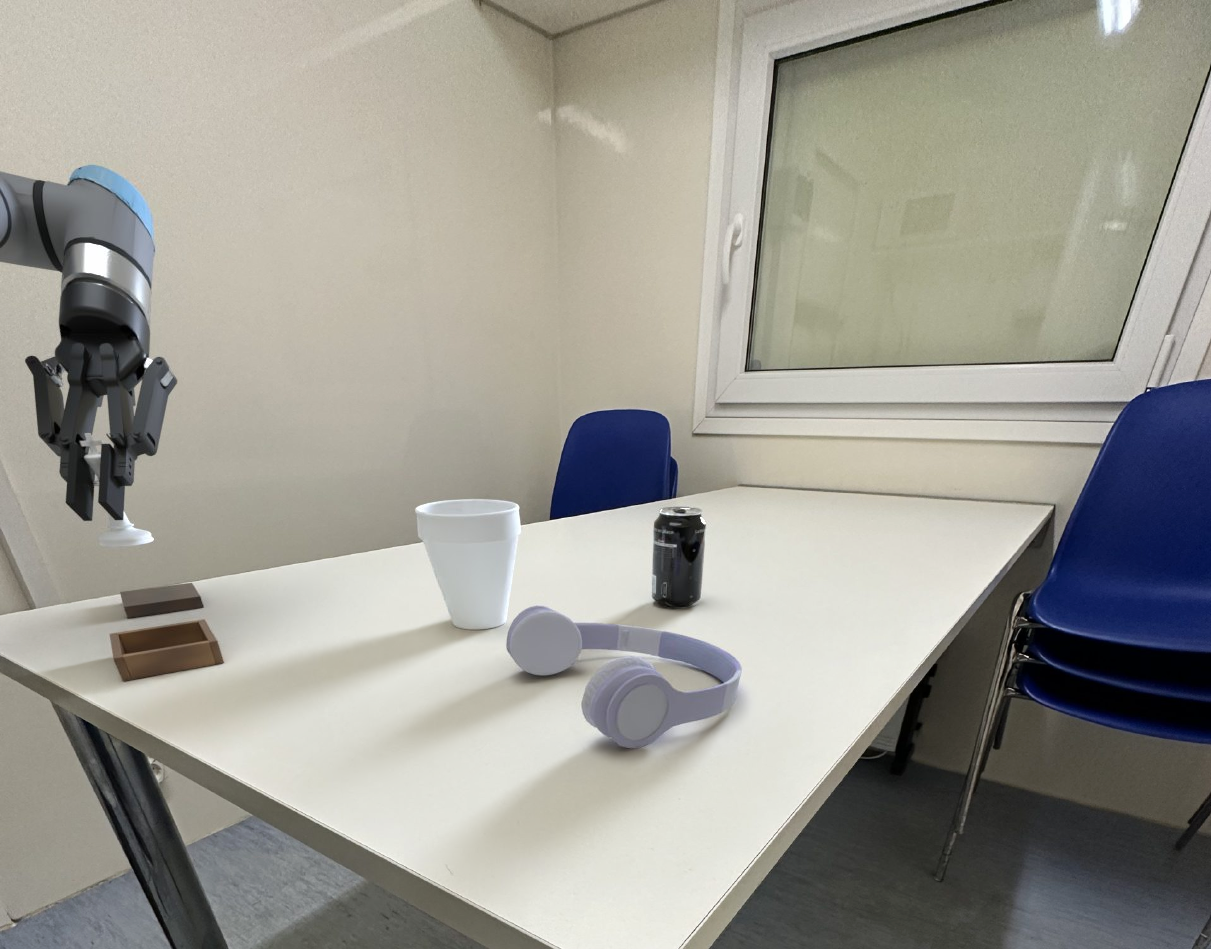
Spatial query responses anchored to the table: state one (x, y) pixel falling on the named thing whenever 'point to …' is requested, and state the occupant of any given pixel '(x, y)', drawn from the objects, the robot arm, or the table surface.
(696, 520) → the beverage can
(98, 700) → the table surface
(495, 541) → the cup
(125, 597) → the walnut stand
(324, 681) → the table surface
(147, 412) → the robot arm
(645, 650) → the headphones
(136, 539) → the chess piece
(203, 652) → the oak box
